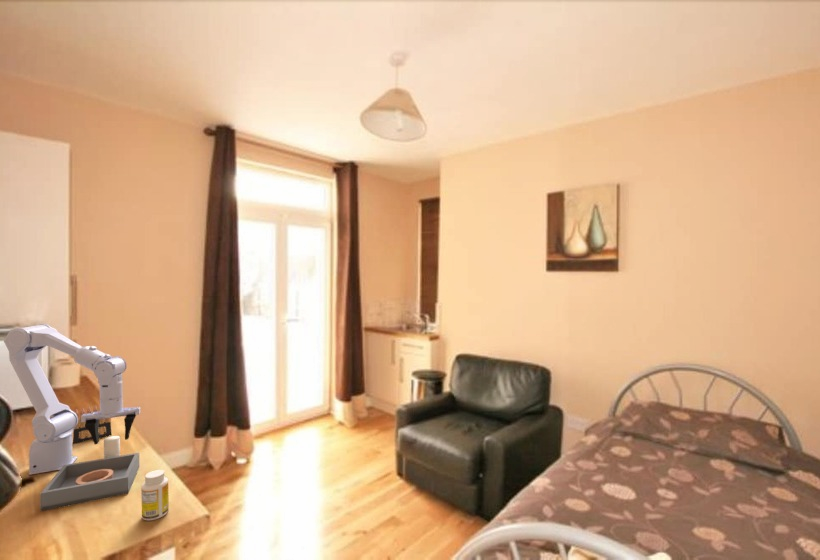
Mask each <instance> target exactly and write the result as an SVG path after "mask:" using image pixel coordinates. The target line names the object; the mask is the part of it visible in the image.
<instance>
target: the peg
mask: <svg viewBox="0 0 820 560" xmlns="http://www.w3.org/2000/svg"><path fill="white" fill-rule="evenodd" d="M115 456H121V437H120V436H119V435H114V436H113V435H111V436H107V437H105V438H104V439H103V458H109V457H115Z"/></svg>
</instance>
